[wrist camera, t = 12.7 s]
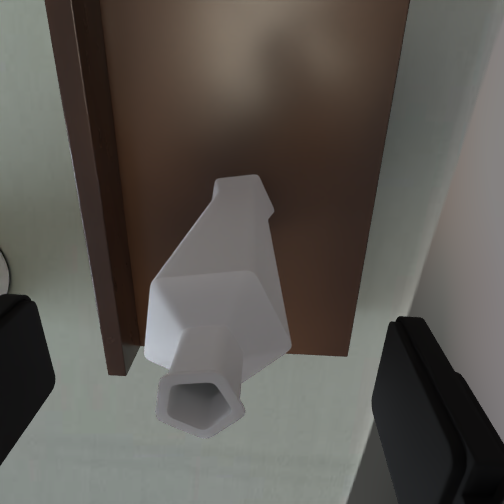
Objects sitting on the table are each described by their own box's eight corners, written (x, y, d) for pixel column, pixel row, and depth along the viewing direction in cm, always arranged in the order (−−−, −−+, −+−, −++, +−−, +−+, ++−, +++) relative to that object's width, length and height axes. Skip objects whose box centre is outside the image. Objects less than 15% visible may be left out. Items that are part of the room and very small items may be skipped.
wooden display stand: (381, 2, 23) (439, -34, 15) (335, 312, 32) (356, 388, 24) (114, -6, 23) (35, -45, 15) (146, 303, 32) (107, 375, 25)
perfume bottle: (240, 147, 21) (190, 282, 7) (292, 203, 22) (328, 406, 9) (184, 200, 22) (57, 395, 9) (236, 250, 24) (193, 488, 10)
